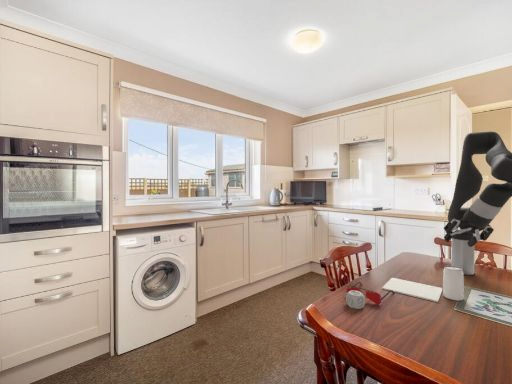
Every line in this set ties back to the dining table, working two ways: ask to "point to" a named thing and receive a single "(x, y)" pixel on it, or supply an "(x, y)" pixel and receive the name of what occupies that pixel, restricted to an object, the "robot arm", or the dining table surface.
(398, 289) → the mat
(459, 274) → the can
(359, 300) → the die
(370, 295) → the glasses
